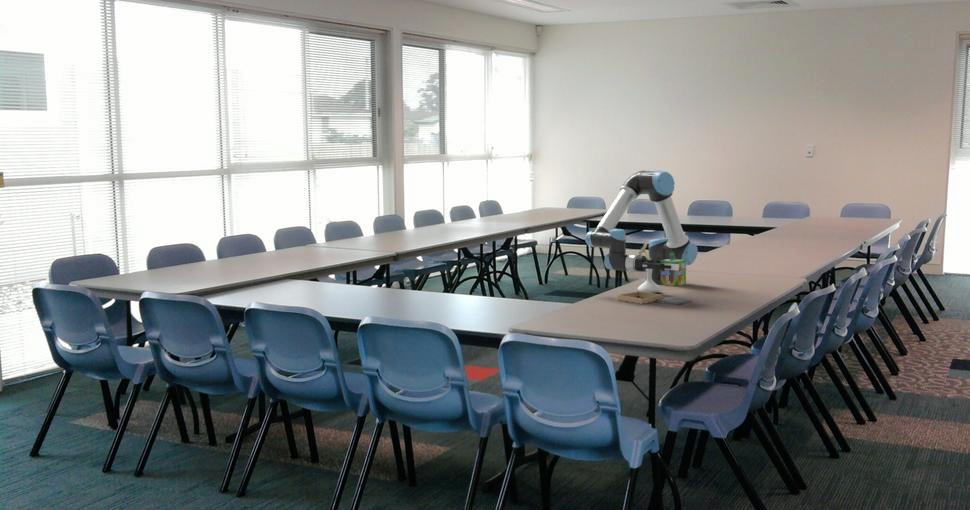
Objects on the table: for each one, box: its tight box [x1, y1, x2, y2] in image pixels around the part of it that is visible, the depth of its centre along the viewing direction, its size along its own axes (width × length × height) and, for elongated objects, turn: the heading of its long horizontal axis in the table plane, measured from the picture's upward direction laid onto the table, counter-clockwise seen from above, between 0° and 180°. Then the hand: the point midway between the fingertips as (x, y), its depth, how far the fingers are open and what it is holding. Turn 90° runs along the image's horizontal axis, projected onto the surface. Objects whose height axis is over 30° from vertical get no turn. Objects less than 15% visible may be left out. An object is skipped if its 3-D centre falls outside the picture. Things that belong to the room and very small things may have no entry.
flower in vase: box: [637, 242, 662, 294], centre depth 450 cm, size 13×11×25 cm
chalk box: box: [659, 253, 687, 287], centre depth 425 cm, size 9×9×15 cm
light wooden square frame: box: [616, 290, 663, 305], centre depth 432 cm, size 15×15×2 cm
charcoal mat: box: [655, 295, 692, 305], centre depth 427 cm, size 12×12×1 cm
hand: (682, 265), depth 423 cm, fingers closed on chalk box, 10 cm apart
